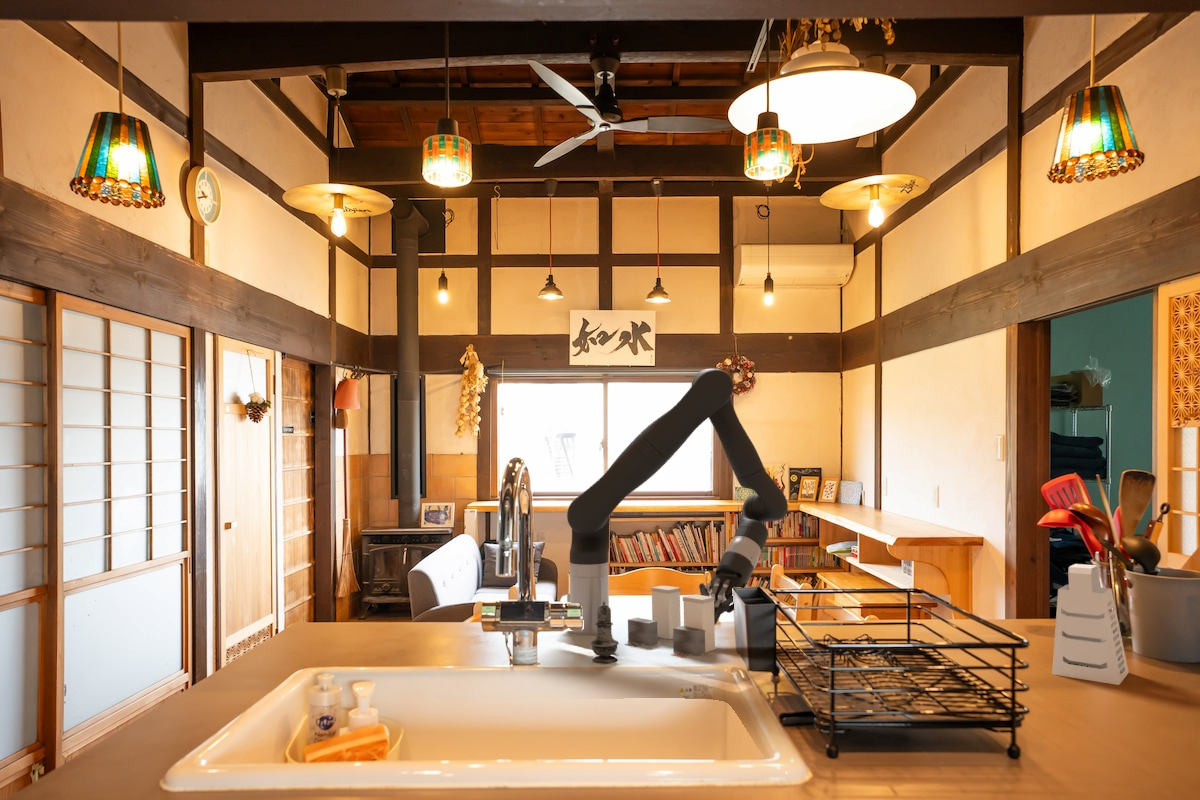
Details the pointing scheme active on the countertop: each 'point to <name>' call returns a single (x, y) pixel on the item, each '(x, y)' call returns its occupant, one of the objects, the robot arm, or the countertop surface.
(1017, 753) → the countertop surface
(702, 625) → the tall white box
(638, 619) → the dark grey rectangular blocks
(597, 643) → the salt shaker
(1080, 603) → the grater
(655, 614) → the tall cream pillar
